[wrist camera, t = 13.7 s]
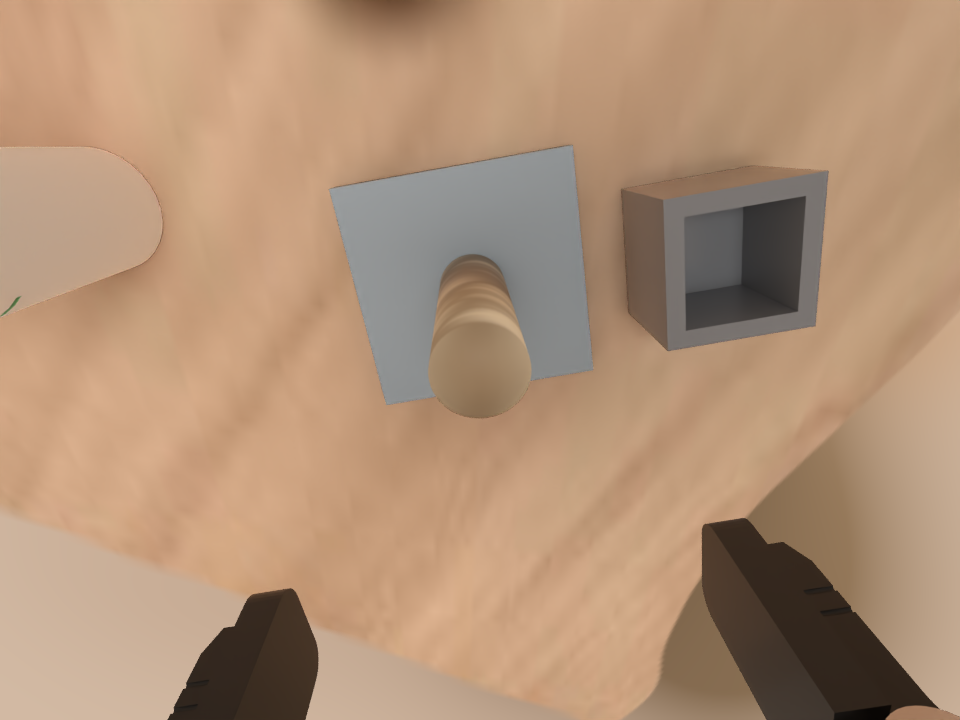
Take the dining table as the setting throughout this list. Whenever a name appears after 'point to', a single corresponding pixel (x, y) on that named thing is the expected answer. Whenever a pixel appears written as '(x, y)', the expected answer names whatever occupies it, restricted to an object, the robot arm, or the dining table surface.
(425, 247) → the board
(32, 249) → the cylindrical container
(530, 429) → the dining table surface
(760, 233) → the grey open box
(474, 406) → the dowel
